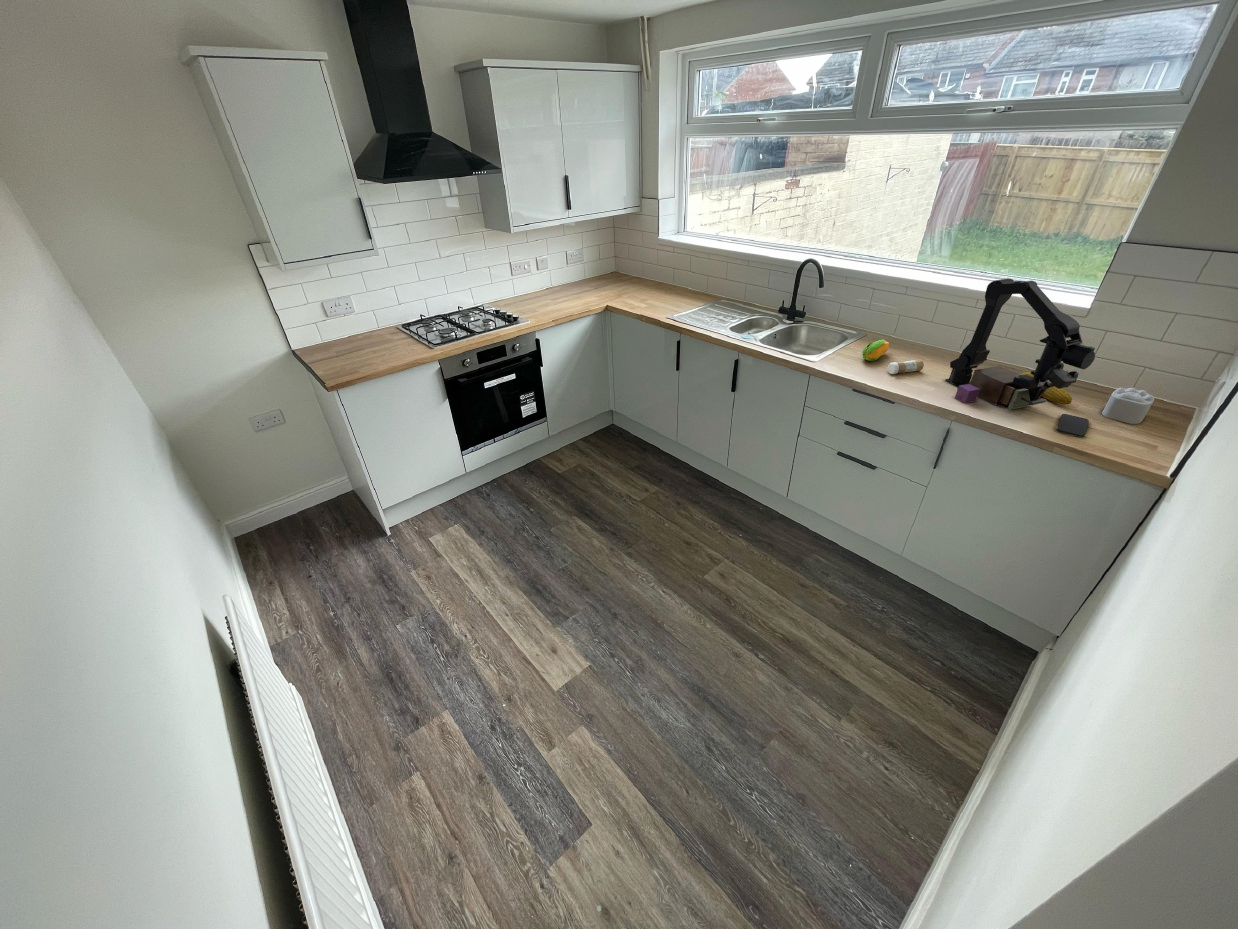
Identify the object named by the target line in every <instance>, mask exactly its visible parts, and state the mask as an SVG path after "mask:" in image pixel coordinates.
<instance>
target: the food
mask: <svg viewBox="0 0 1238 929" xmlns="http://www.w3.org/2000/svg"><path fill="white" fill-rule="evenodd" d="M1030 373H1031V372H1027V371H1025V372H1022V373H1021V374H1020V373H1019V374H1020V375H1024V374H1026V375H1029V376H1031V377H1034V375H1032V374H1030ZM1041 397H1042V398H1043V399H1046V400H1048V401H1050V402H1052V403H1055V404H1058V405H1063V406H1067V405H1071V403H1073V402H1072V401H1073V397H1072V395H1071V394H1070V393H1069V392H1068V391H1067V390H1065V389H1064V388H1061V389H1058V388H1056V387H1055V386H1054V387H1051V388H1048V389H1047V390H1046V391H1045V392H1044V393H1043V394H1042V395H1041V396H1040V398H1041Z"/></svg>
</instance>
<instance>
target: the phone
mask: <svg viewBox="0 0 1238 929" xmlns="http://www.w3.org/2000/svg"><path fill="white" fill-rule="evenodd" d="M1089 422H1090V420H1089V419H1088V418H1085V417H1081V416H1078V415H1073V414H1068V413H1062V414H1061V415H1060V418H1059V422H1058V424H1057V428H1056V431H1057V432H1058V433H1062V434H1066V435H1070V436H1073V437H1078V438H1085V437H1086V435H1087V432H1088V427H1089Z"/></svg>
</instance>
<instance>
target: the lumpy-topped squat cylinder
mask: <svg viewBox="0 0 1238 929" xmlns="http://www.w3.org/2000/svg"><path fill="white" fill-rule="evenodd" d="M1154 401H1155V397H1154V395H1152V394H1150V393H1148V392H1147V390H1146V389H1137V388H1135V387H1134V386H1133V387H1128V388H1124V387H1118V388H1116V389H1115V390H1114V391H1113V392H1112V393H1111V395H1110V397H1109V399H1108V401H1107V403H1106V404H1105V406H1104V408H1103V410H1102V412H1101V414H1102V415H1103V416H1104V417H1105V418H1108V419H1111V420H1116V421H1120V422H1122V423H1126V424H1129V425H1130V424H1131V425H1137V424H1138V425H1139V424H1141V423H1142V422H1143V420H1144V419H1145V417H1146V416H1147V414H1148V412H1149V410H1150V409H1151V406H1152V405H1153V403H1154Z"/></svg>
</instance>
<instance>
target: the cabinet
mask: <svg viewBox="0 0 1238 929" xmlns="http://www.w3.org/2000/svg"><path fill="white" fill-rule="evenodd" d="M1018 375H1020V373H1018V372H1016V371H1013V370H1011V369H1008V368H1006V367H1003V366H1001V365H995V366H991V367H984V368H979V369H978V368H976V369H973V372H972V377H971V380H970V384H971V385H973V386H975V387H977V388H979V389H980V391H979V394H978V397H977V398H980V399H982V400H984V401H986V402H988V403H990V404H992V405H994V406H999V405H1004V404H1003V403H1001V402H999V399H1000V397H1001V394H1002V392H1003V389H1004V387H1005V385H1007V384H1013V383H1012V382H1013V379H1014V377H1016V376H1018Z"/></svg>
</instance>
